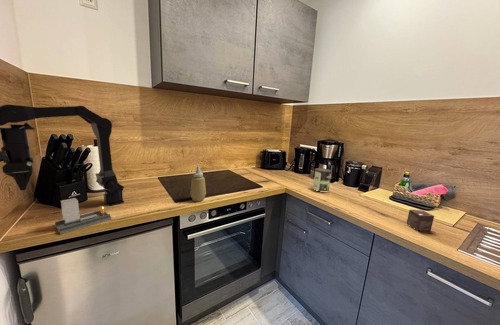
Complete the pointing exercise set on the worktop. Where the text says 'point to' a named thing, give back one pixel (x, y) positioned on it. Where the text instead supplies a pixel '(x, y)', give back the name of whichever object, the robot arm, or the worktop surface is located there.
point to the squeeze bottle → (198, 186)
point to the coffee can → (322, 179)
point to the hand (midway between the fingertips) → (23, 186)
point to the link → (73, 212)
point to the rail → (83, 222)
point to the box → (420, 220)
